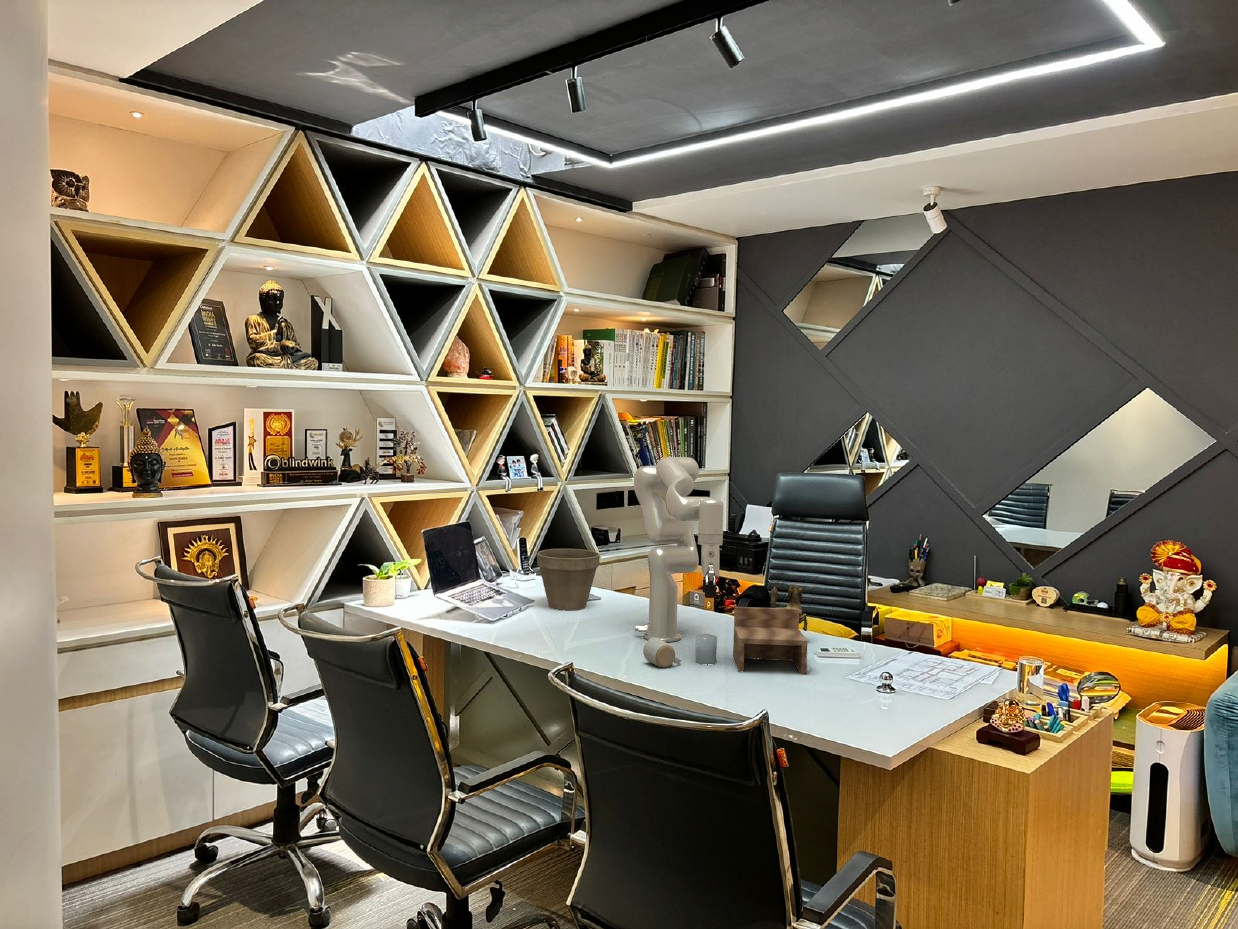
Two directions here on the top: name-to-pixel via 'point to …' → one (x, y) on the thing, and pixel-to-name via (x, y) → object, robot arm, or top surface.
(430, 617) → the top surface
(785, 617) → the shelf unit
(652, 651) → the ceramic mug
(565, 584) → the plant pot
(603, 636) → the top surface
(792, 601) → the figurine
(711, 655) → the grey cylinder
